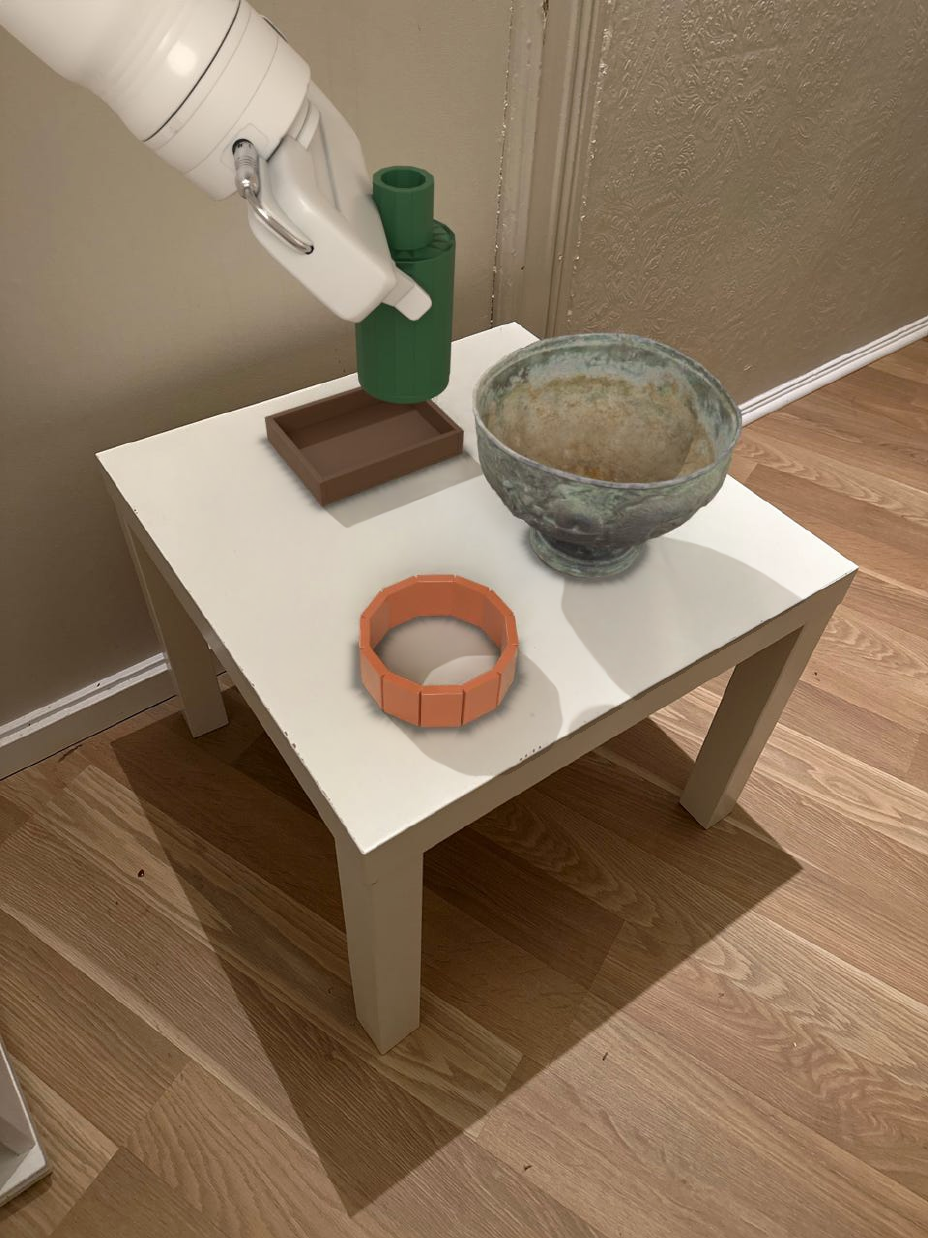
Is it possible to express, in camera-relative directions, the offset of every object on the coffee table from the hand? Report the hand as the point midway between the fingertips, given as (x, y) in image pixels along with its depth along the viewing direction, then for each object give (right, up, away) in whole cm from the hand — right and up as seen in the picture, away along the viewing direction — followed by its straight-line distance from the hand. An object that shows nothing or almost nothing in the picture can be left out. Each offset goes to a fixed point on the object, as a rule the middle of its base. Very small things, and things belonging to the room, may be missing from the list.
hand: (413, 275), depth 57 cm
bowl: (+14, -15, +22) cm, 30 cm away
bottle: (-1, -5, +5) cm, 7 cm away
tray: (-6, -5, +29) cm, 30 cm away
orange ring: (+1, -25, +12) cm, 28 cm away
